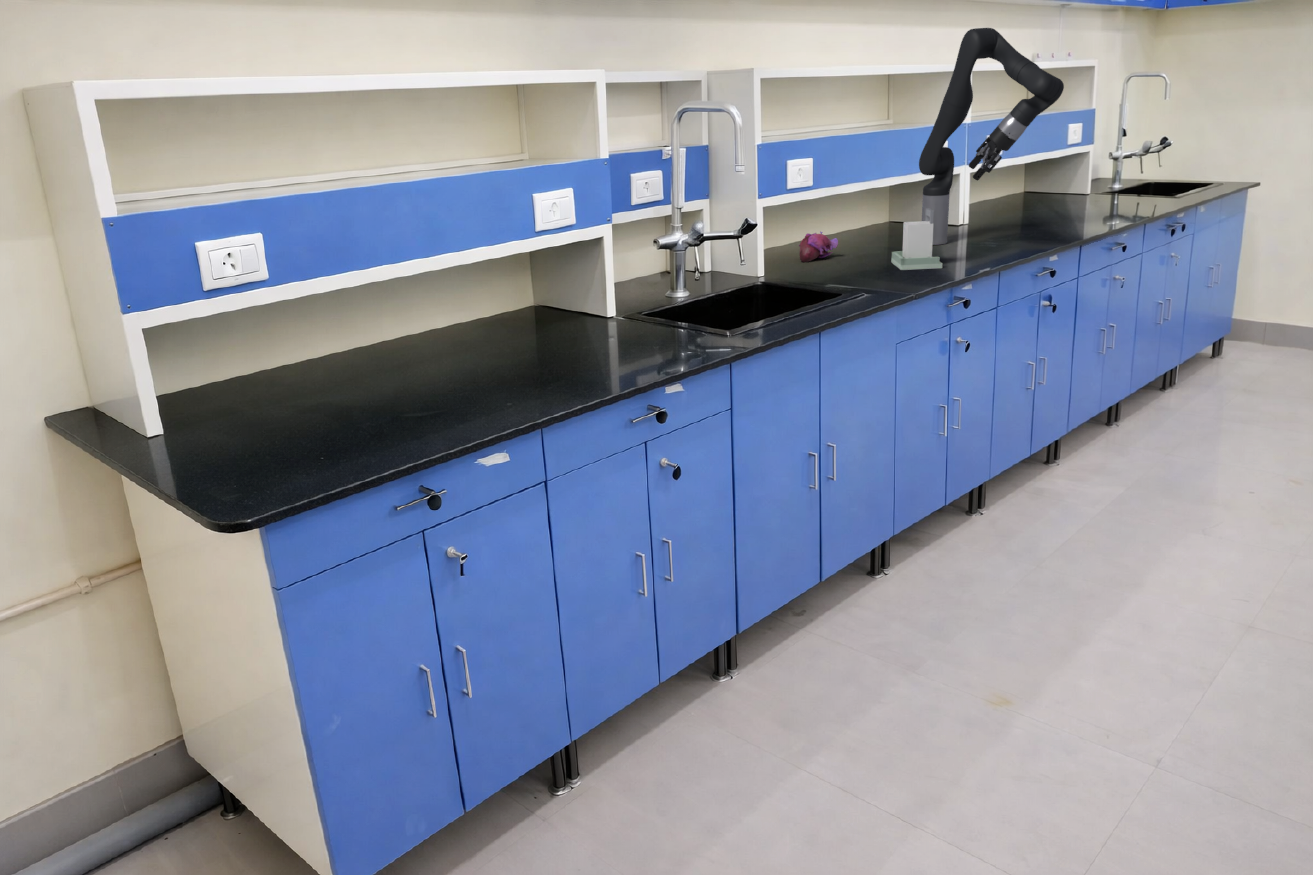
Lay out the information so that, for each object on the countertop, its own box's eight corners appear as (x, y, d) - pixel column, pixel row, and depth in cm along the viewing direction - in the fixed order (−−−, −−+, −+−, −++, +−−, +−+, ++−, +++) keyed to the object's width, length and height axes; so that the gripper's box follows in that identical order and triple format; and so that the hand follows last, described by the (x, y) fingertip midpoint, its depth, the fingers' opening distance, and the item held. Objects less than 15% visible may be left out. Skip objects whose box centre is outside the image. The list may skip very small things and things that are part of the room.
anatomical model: (803, 262, 328) (845, 252, 330) (797, 235, 327) (839, 224, 329) (793, 266, 340) (834, 256, 342) (787, 239, 339) (827, 229, 341)
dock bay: (891, 262, 323) (891, 251, 322) (930, 260, 323) (931, 249, 322) (901, 270, 310) (901, 259, 309) (942, 268, 310) (942, 257, 309)
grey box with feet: (902, 259, 319) (903, 209, 314) (926, 258, 319) (929, 208, 314) (906, 262, 313) (908, 212, 308) (931, 261, 313) (934, 210, 308)
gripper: (995, 116, 309) (960, 158, 319) (1003, 134, 298) (967, 176, 308) (1013, 129, 311) (978, 169, 321) (1022, 147, 300) (985, 188, 310)
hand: (972, 173), depth 314 cm, fingers open, 8 cm apart
